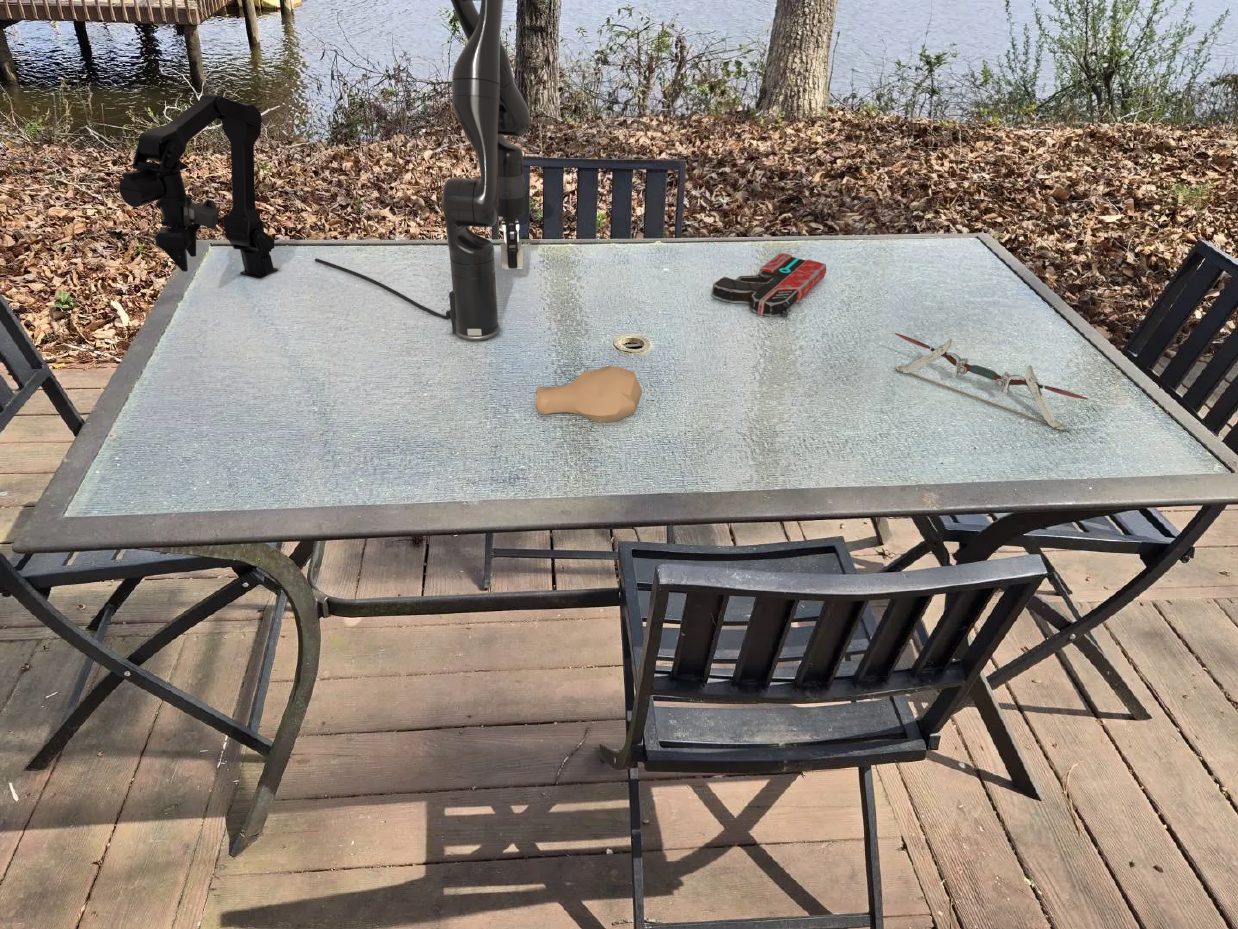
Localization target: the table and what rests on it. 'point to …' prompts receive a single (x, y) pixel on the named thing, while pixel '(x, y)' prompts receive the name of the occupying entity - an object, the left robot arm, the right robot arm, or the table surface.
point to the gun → (772, 285)
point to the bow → (1000, 381)
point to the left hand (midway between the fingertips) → (189, 263)
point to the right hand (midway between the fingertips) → (512, 263)
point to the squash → (594, 395)
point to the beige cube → (505, 257)
